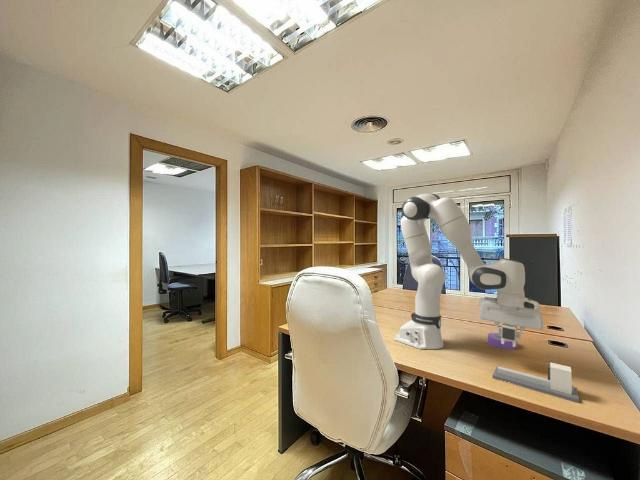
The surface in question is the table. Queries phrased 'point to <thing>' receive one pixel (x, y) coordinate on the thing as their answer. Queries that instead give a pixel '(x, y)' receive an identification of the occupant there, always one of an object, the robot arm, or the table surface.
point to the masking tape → (495, 341)
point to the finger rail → (537, 387)
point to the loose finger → (509, 333)
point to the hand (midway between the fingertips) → (509, 335)
